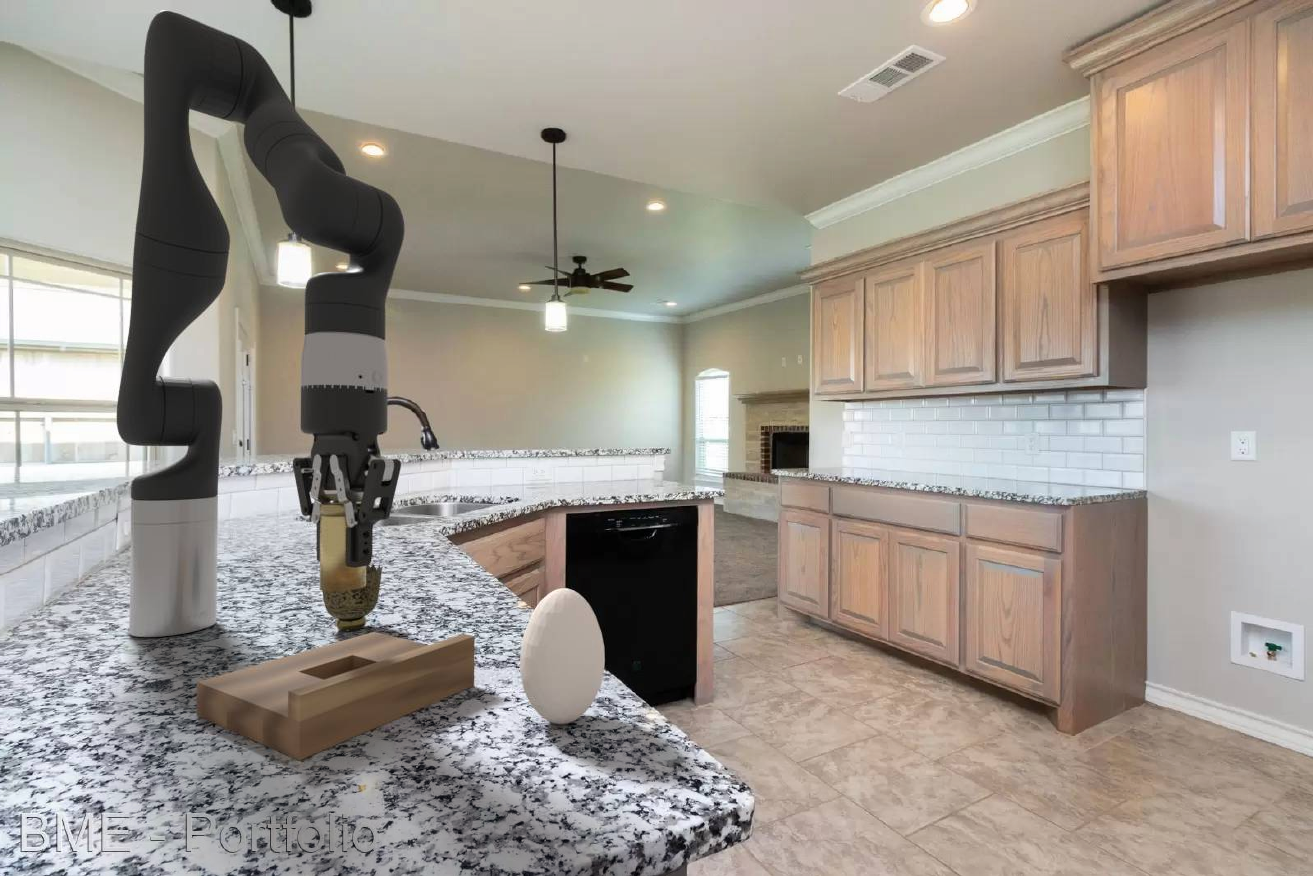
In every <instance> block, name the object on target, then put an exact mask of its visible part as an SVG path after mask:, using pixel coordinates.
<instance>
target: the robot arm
mask: <svg viewBox="0 0 1313 876" xmlns="http://www.w3.org/2000/svg"><path fill="white" fill-rule="evenodd" d="M190 110H191V111H195V112H198V113H201V114H203V115H204V114H205V115H207V116H210V117H214V118H216V119H217V118H218V119H220V120H224V121H228V122H237V123H238V124H241V125H244V128H243V134H242V135H243V143H244V148H245V150H246V153H247V155H248V157H249V159H250V161H251V163H252V164H253V165H254V166H255V168H256V169H257V171H258V172H259V173H260V174H261V175H262V176H263V178H264V179H265V180H266V181H267V182H268V184H269V185H270V186H271V187H272V188H273V189H274V191H275V194H276V198H277V201H278V203H279V207H280V211H281V215H282V219H283V220H284V223H285V225H287V227H288V228H289V229H290V230H291V231H292V232H293V233H294V234H296V235H298V237H300V238H301V239H303V240H304V241H306V242H309V243H310V244H314V245H315V246H319V247H323V248H327V249H331V250H334V251H337V252H340V253H343V254H348V255H349V261H348V264H347V267H346V270H345V271H329V272H328V271H327V272H325V271H324V272H320V273H316V274H314V275H312V276H310V278H309V279H308V280H307V282H306V284H305V290H304V337H303V339H304V340H303V346H302V352H301V362H300V430H301V432H302V433H304V434H306V435H312V436H313V443H312V446H311V449H310V454H309V455H307V456H305V457H294V458H293V460H292V468H293V473H294V480H295V483H296V484H295V486H296V489H297V496H298V501H299V507H300V512H301V514H302V516H303V517H308V516H309V517H310V518H311V520H312V522H313V524H315V525H316V545H315V547H316V561H317V562H319V563H320V504H321V503H329V502H340V503H341V504H343V505H344V508H345V514H346V521H347V525H348V526H349V527H350V528H346V565H347V566H348V567H352V568H356V567H362V566H367V565H369V566H370V564H371V563H372V559H373V546H374V545H373V538H374V537H373V536H374V535H373V532H374V531H373V528H374V526H375V525H376V524H377V523H378V522H380V521H382V520H383V521H385V520H389V518H390V516H391V511H392V506H393V504H394V503H393V502H394V499H395V494H396V491H397V486H398V481H399V478H400V472H401V467H402V463H401V460H399V459H398V458H387V457H385V456H384V455H381V450H380V447H379V443H378V436H381V435H384V434H385V433H386V432H387V431H388V409H389V408H388V406H389V405H388V402H389V400H388V399H389V397H388V393H389V392H388V387H389V386H388V381H389V377H388V376H389V374H388V373H389V371H388V369H389V365H388V363H389V362H388V356H387V355H388V354H387V349H386V301H387V297H388V292H389V290H390V286H391V283H392V280H393V276H394V273H395V269H396V265H397V262H398V258H399V255H400V252H401V249H402V246H403V243H404V242H403V241H404V239H405V220H404V216H403V212H402V209H401V207H400V206H399V204H398V202H397V200H396V199H395V198H394V197H393V196H392V195H391V194H390V193H388V192H387V191H385V190H383V189H380V188H378V187H375V186H373V185H371V184H368V183H366V182H363V181H361V180H358V179H356V178H353V177H351V176H349V175H347V173H346V170H345V167H344V164H343V162H342V161H341V159H340V157H339V156H338V154H337V153H336V152H335V151H334V150H333V148H331V146H330V145H329V144H328V143H327V142H326V141H325V140H323V138H322V137H321V136H320V135H319V134H318V133H317V132H316V131H315V130H314V129H313V128H312V127H311V126H310V125H308V123H307V122H306V121H305V120H304V119H303V118H302V116H301V115H300V114H299V113H298V111H297V109H296V108H295V106H294V105H293V103H292V101H291V99H290V98H289V96H288V94H287V92H286V91H285V90H284V87H283V86H282V84H281V83H280V81H279V80H278V78H277V76H276V75H275V73H274V71H273V68H271V66H270V64H269V63H268V61H267V60H266V59H265V57H264V56H263V55H262V54H261V53H260V51H258V49H256V48H255V46H253V45H252V44H250V43H249V42H247V41H245V40H244V39H242V38H239V37H238V36H235V35H232V34H230V33H228V32H225V31H224V30H221V29H218V28H216V27H214V26H211V25H208V24H206V23H204V22H201V21H199V20H196V19H194V18H191V17H189V16H186V15H184V14H182V13H180V12H176V11H173V10H170V9H169V10H168V9H165V10H164V9H163V10H160V11H158V12H157V13H156V14H155V15H154V16H153V17H152V19H151V21H150V23H149V26H148V29H147V33H146V39H145V46H144V56H143V157H142V158H143V160H142V171H141V180H140V181H141V182H140V191H139V198H138V199H139V200H138V205H137V206H138V208H137V215H136V221H135V222H136V223H135V233H134V241H133V242H134V244H133V245H134V246H133V254H132V273H131V274H132V277H131V279H132V281H131V300H130V301H131V302H130V315H129V316H130V317H129V327H128V335H127V341H126V345H125V346H126V347H125V353H124V359H123V365H122V372H121V377H120V383H119V384H120V385H119V389H118V397H117V405H116V428H117V431H118V435H119V437H120V439H121V440H122V442H124V443H126V444H128V445H132V446H137V447H138V446H139V447H157V446H158V447H187V450H186V454H185V455H184V456H183V457H181V459H179V460H178V461H176V462H174V463H172V464H170V465H168V466H166V467H163V468H160V469H156V470H154V471H151V472H147V473H144V474H141V475H140V474H139V475H138V476H136V477H134V478H133V479H132V482H131V486H130V563H129V564H130V566H129V567H130V570H129V574H130V575H129V581H130V582H129V622H128V623H129V627H128V628H129V629H128V630H129V631H128V632H129V635H130V636H133V637H139V638H141V637H142V638H157V637H158V638H159V637H167V636H168V637H169V636H170V637H171V636H176V635H182V634H183V635H184V634H188V633H192V632H196V631H200V630H203V629H208V628H210V627H211V626H213V625H215V624H216V623H217V608H218V607H217V606H218V605H217V603H218V600H217V599H218V598H217V597H218V540H219V539H218V534H219V533H218V528H219V525H218V524H219V521H218V520H219V518H218V515H219V498H218V497H219V496H218V495H219V474H220V472H219V471H220V448H221V435H222V425H223V397H222V391H221V389H220V388H219V386H218V384H217V383H216V382H215V381H214V380H212V379H208V378H200V377H184V376H182V377H181V376H169V375H168V376H167V375H158V372H159V370H160V367H161V365H162V362H163V360H164V359H165V356H166V354H167V353H168V351H169V349H170V348H171V346H172V345H173V344H174V343H175V341H176V340H177V339H178V337H180V335H181V334H182V333H183V332H184V331H185V330H186V329H188V327H189V326H190V325H191V324H192V323H193V322H194V321H196V320H197V319H198V318H199V317H200V316H201V315H202V314H203V313H204V312H205V311H206V310H207V309H208V308H209V307H210V306H211V305H212V304H213V303H214V302H215V300H217V298H218V297H219V295H220V294H221V292H222V291H223V289H224V286H225V284H226V278H227V271H228V262H229V255H230V248H231V246H230V245H231V236H230V230H229V227H228V225H227V222H226V220H225V218H224V216H223V213H222V211H221V209H220V207H219V206H218V203H217V202H216V200H215V198H214V197H213V194H212V192H211V191H210V188H209V187H208V185H207V183H206V181H205V179H204V177H203V176H202V174H201V171H200V169H199V166H198V163H197V161H196V159H195V155H194V152H193V149H192V142H191V134H190V122H189V121H190ZM357 491H358V492H357ZM378 498H379V505H378V506H377V505H376V500H377V499H378ZM312 499H313V500H314V501H313V502H312ZM357 502H361V506H360V510H359V512H358V510H357Z"/></svg>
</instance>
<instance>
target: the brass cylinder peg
mask: <svg viewBox="0 0 1313 876" xmlns="http://www.w3.org/2000/svg"><path fill="white" fill-rule="evenodd" d="M360 506H361V502H357V510H358V512H359V510H360ZM346 528H350V527H349V526H348V525H347V521H346V514H345V508H344V505H343V504H341V503H340V502H333V501H330V502H329V503H321V504H320V562H319V590H320V591H329V592H337V591H349V590H355V589H359V588H363V587H365V586H366V566H362V567H356V568H352V567H348V566H347V565H346Z"/></svg>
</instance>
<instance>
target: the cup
mask: <svg viewBox="0 0 1313 876" xmlns="http://www.w3.org/2000/svg"><path fill="white" fill-rule="evenodd" d="M382 572H383V566H381V565H380V564H379V565H378V566H377V567H375V564H373V563H372V564H371V566H370V564H369V565H367V566H366V586H365V587H363V588H359V589H355V590H349V591H337V592H329V591H322V590H321V591H322V598H323V603H324V607H325V610H326V612H327V613H328V614H329V615H330V616H331V617H332V618H334V619H337V620H336V622H335V627H336V628H337V629H338V631H342V632H353V631H358V630H360V629H362V628H364V627H365V625H366V624H367V622H368V621H367V618H366V616H367V615H369V614H370V613H372V612H373V611H374V609H375V607H376V606H377V603H378V600H379V595H380V588H381V582H382V581H381V579H382Z"/></svg>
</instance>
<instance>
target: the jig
mask: <svg viewBox="0 0 1313 876" xmlns="http://www.w3.org/2000/svg"><path fill="white" fill-rule="evenodd" d="M475 639H476V638H475V635H470V634H467V633H462V634H459V635H456V636H452V637H449V638H446V639H444V640H440V641H438V642H435V643H431V644H426V643H422V642H418V641H413V640H409V639H406V638H401V637H396V636H393V635H387V634H385V633H384V634H383V633H380V632H376V631H373V632H369V633H366V634H362V635H358V636H355V637H352V638H351V637H350V638H348V639H345V640H341V641H337V642H334V643H331V644H330V643H329V644H326V645H324V646H323V645H322V646H319V647H316V648H313V649H308V650H306V651H302V652H298V653H295V654H291V655H288V656H284V657H280V658H278V659H274V660H269V661H267V662H263V663H259V664H256V665H255V664H254V665H252V666H247V667H245V668H242V669H238V670H234V671H231V672H228V673H223V674H219V675H217V676H213V677H209V678H206V679H203V680H198V681H197V682H196V716H197V717H199V718H202V719H204V720H206V721H208V722H211V723H213V724H216V725H218V726H220V727H222V728H224V729H227V730H228V731H231V732H234V733H236V734H239V735H240V736H243V737H245V738H247V739H249V740H252V741H254V742H257V743H258V744H261V745H262V746H265V747H267V748H270V749H272V750H275V751H277V752H280V753H281V754H284V755H286V756H288V757H290V758H292V759H295V760H298V761H302V760H304V759H306V758H308V757H311V756H313V755H315V754H318V753H320V752H322V751H325V750H327V749H330V748H332V747H334V746H336V745H338V744H339V745H340V744H341V743H344V742H346V741H348V740H351V739H353V738H355V737H357V736H360V735H362V734H364V733H367V732H369V731H372V730H373V729H376V728H378V727H380V726H381V727H382V725H385V724H386V725H387V724H388V723H390V722H393V721H395V720H397V719H399V718H402V717H404V716H406V715H409V714H412V713H414V712H415V711H418V710H420V709H423V708H425V707H428V706H429V705H433V704H434V703H438V702H439V701H442V700H443V699H446V698H449V697H451V696H453V695H455V694H458V693H461V692H462V691H465V690H467V689H469V688H472V687H474V686H475Z"/></svg>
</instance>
